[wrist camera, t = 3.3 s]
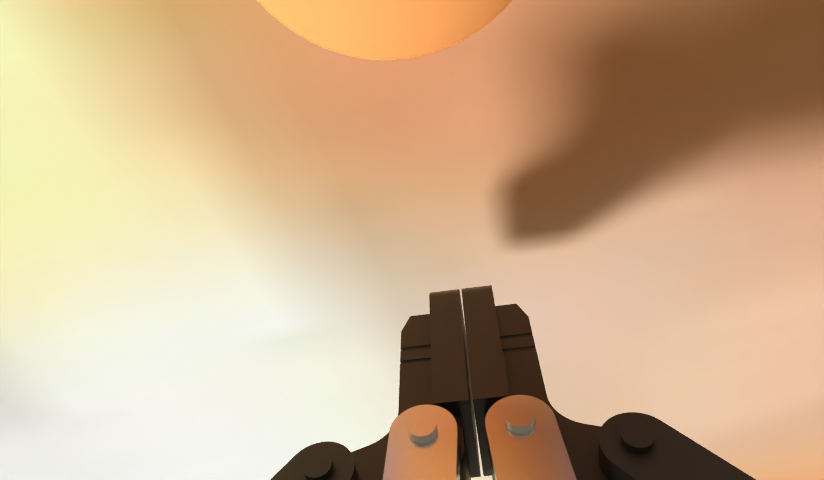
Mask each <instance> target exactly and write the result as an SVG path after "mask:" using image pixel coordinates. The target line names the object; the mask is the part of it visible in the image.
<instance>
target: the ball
mask: <svg viewBox="0 0 824 480" xmlns="http://www.w3.org/2000/svg"><path fill="white" fill-rule="evenodd" d="M257 1H258V2H259V3H260V4H261V5H262V6H263V7H264V8H265V9H266V10H267V11H268V12H269V13H270V14H271V15H272V16H274V17H275V18H276V19H277V20H279V21H280V22H281V23H282V24H284V25H285V26H286V27H287V28H289V29H290V30H292V31H293V32H295V33H297V34H298V35H300V36H302V37H303V38H305V39H306V40H308V41H310V42H312V43H315V44H317V45H319V46H321V47H323V48H326V49H328V50H331V51H334V52H338V53H341V54H344V55H347V56H352V57H358V58H364V59H372V60H398V59H409V58H414V57H419V56H423V55H428V54H431V53H434V52H437V51H440V50H442V49H445V48H448V47H450V46H452V45H454V44H456V43H458V42H460V41H462V40H464V39H466V38H468V37H469V36H471V35H472V34H474V33H475V32H477V31H478V30H480V29H481V28H482V27H484V26H485V25H487V24H488V23H489V22H490V21H491V20H492V19H494V18H495V17H496V16H497V15H498V14H499V13H500V12H501V11H503V10H504V8H505V7H506V6H507V5H508V4H509V3H510V2H511V1H512V0H257Z"/></svg>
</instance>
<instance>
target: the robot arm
mask: <svg viewBox="0 0 824 480" xmlns="http://www.w3.org/2000/svg"><path fill="white" fill-rule="evenodd" d="M429 297H430V314H426V315H418V316H410V318H409V320H408V321H407V323H406V325H405V326H404V328H403V330H402V331H401V358H400V362H401V364H400V387H399V413H398V417H397V418H396V419H395V420H394V422H393V423H392V425H391V427H390V432H389V433H388V434H387V435H386V436H384V437H383V438H382V439H380V440H379V441H377V442H376V443H373V444H371V445H369V446H366V447H364V448H361V449H359V450H356V451H354V452H350V451H349V450H348V449H347V448H346V447H345V446H343V445H341V444H339V443H335V442H320V443H316V444H313V445H310V446H308V447H306V448H304V449H303V450H301V451H300V452H299V453H298V454H296V455H295V456H294V457H293V458H292V459H291V460H290V461H289V462H288V463H287V464H286V465H285V466H284V467H283V468H282V469H281V470H280V471H279V472H278V473H277V474H276V475H275V476H274V477H273V478H272V479H271V480H471V477H481V474H480V464H479V454H478V444H477V434H476V427H477V433H478V440H479V447H480V454H481V460H482V467H483V474H484V476H489V475H492V478H493V480H756V479H754V478H752V477H751V476H749V475H748V474H746V473H744V472H743V471H741V470H739V469H738V468H736V467H735V466H733V465H731V464H730V463H728V462H727V461H725V460H723V459H722V458H720V457H718V456H717V455H715V454H714V453H712V452H710V451H709V450H707V449H706V448H704V447H702V446H701V445H699V444H697V443H696V442H694V441H693V440H691V439H689V438H688V437H686V436H685V435H683V434H681V433H680V432H678V431H677V430H675V429H673V428H672V427H670V426H668V425H667V424H665V423H664V422H662V421H660V420H659V419H657V418H655V417H652V416H650V415H647V414H642V413H635V412H631V413H622V414H618V415H615V416H613V417H611V418H610V419H608V420H607V421H606V422H605V423H604V424H603V426H602V427H600V426H594V425H588V424H582V423H578V422H575V421H572V420H569V419H567V418H565V417H564V416H562V415H561V414H559V413H558V412H557V411H556V410H555V409H554V408H553V407H552V406H551V404H550V402H549V401H548V398H547V395H546V390H545V386H544V382H543V378H542V373H541V369H540V365H539V360H538V356H537V352H536V349H535V343H534V339H533V336H532V330H531V326H530V322H529V317H528V316H527V315H526V314H525V313H524V312H523V310H522V309H521V308H520V307H519V306H518V305H517V304H510V305H502V306H495V304H494V298H493V292H492V286H491V285H490V286H482V287H473V288H465V289H462V298H463V308H464V318H465V325H464V318H463V311H462V304H461V297H460V291H459V289H458V290H450V291H441V292H433V293H430V295H429ZM465 328H466V332H465ZM466 338H467V339H466ZM474 413H475V414H474ZM475 420H476V424H475Z"/></svg>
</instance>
